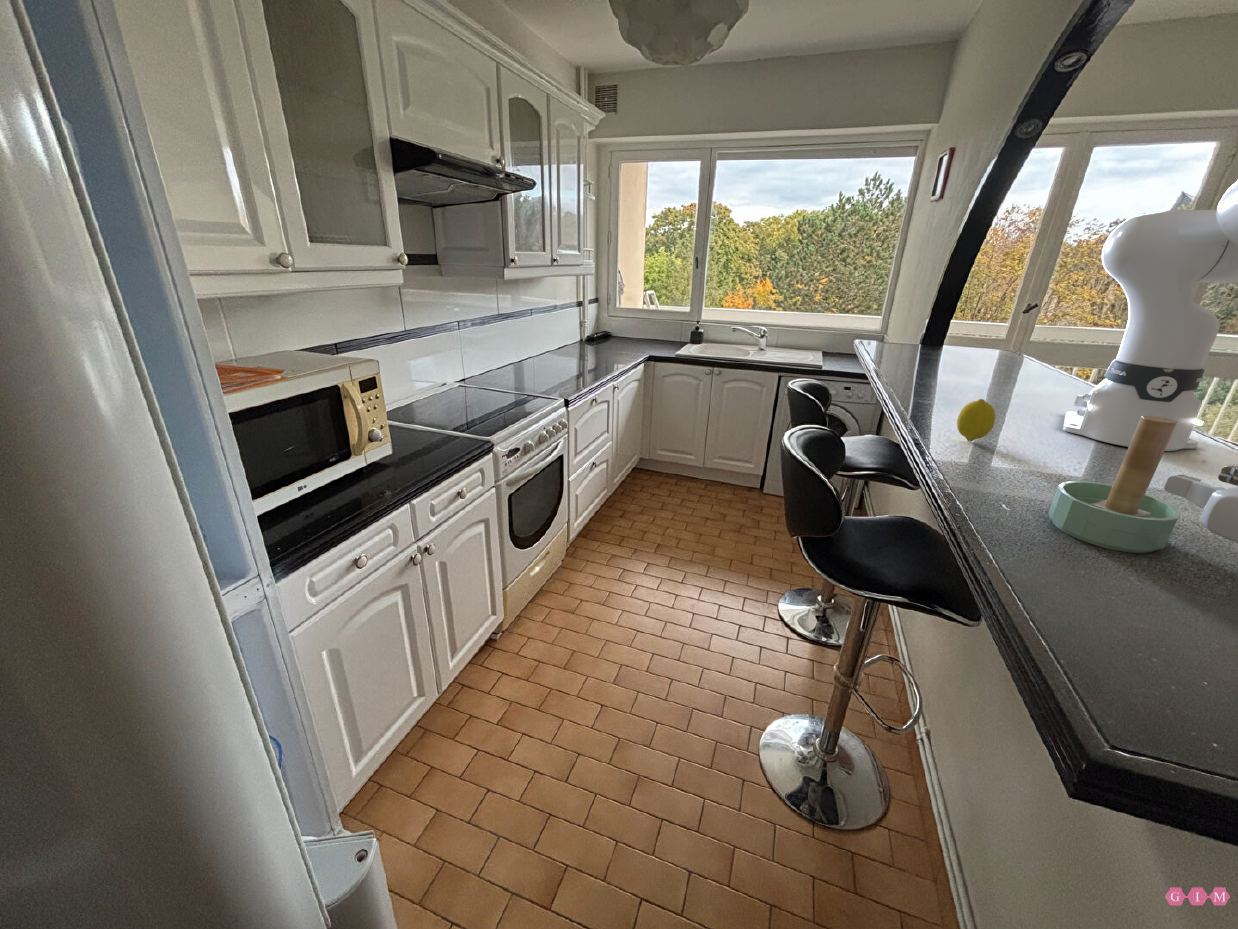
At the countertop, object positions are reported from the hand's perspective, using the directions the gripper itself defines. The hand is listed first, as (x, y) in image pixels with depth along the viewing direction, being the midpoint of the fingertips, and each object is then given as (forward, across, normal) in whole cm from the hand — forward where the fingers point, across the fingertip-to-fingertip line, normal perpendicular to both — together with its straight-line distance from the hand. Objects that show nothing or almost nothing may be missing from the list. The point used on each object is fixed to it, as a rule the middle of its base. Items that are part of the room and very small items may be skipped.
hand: (1197, 476), depth 53 cm
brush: (+5, 0, +9) cm, 10 cm away
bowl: (+6, 0, +10) cm, 11 cm away
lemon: (+36, -16, +10) cm, 41 cm away
